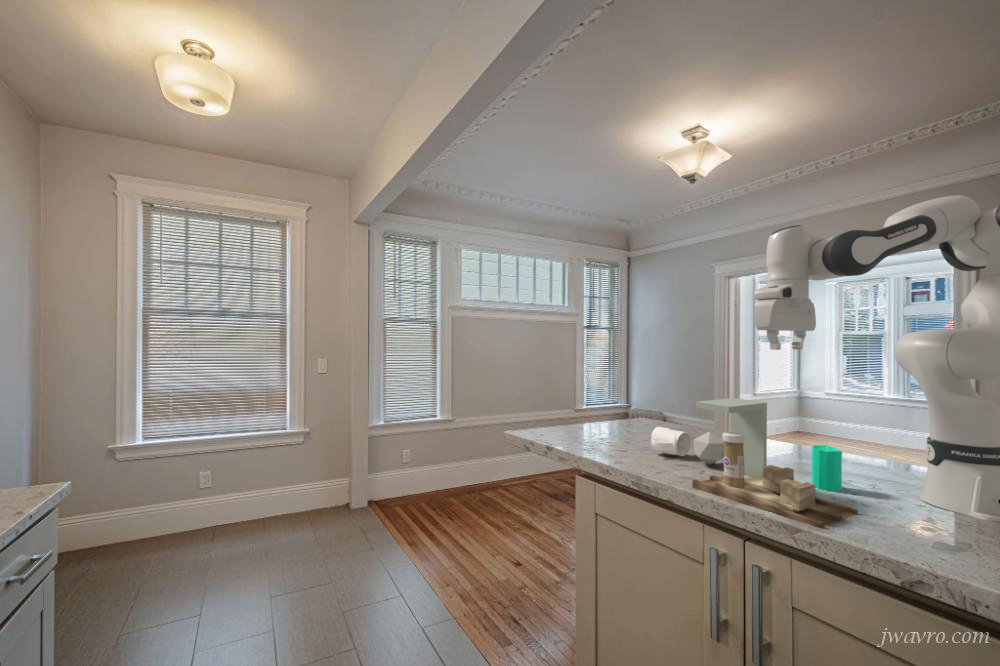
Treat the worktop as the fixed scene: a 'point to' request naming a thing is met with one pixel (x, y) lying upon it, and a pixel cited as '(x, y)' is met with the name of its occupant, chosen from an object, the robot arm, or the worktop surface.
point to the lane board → (814, 516)
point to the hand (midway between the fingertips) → (786, 349)
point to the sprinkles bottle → (734, 459)
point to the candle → (827, 468)
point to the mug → (670, 441)
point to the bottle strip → (790, 498)
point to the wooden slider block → (770, 479)
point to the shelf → (746, 429)
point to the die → (709, 448)
